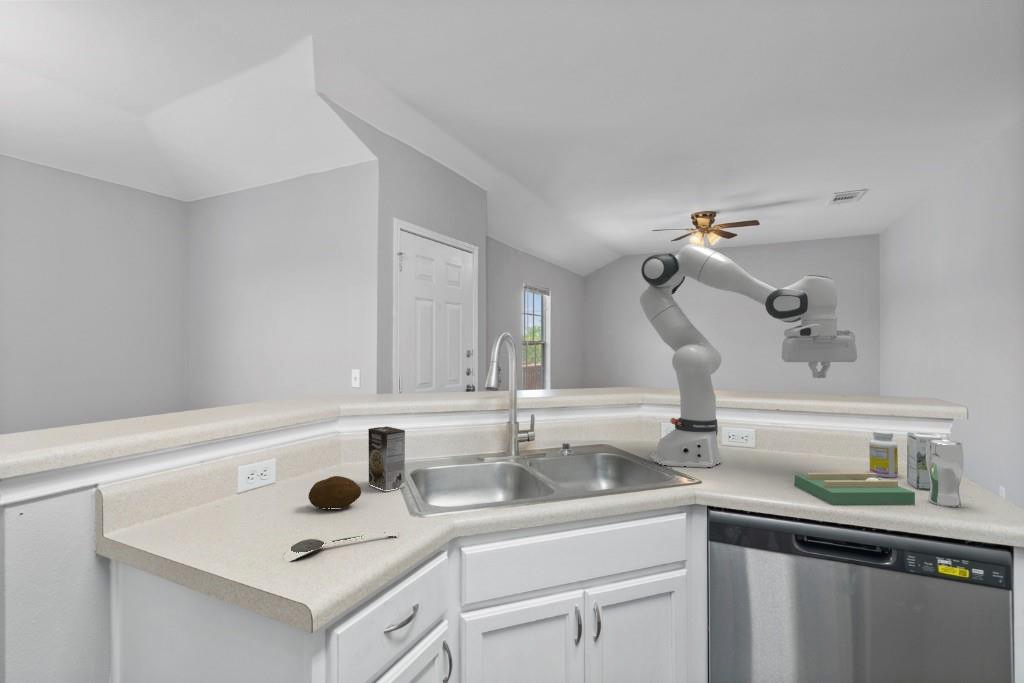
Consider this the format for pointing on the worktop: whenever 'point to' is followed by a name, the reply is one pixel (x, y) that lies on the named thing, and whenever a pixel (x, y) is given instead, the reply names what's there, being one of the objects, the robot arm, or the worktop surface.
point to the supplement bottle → (883, 454)
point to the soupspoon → (311, 545)
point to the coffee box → (386, 457)
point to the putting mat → (854, 489)
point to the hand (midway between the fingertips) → (819, 377)
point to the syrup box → (918, 459)
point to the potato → (334, 493)
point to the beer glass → (944, 471)
